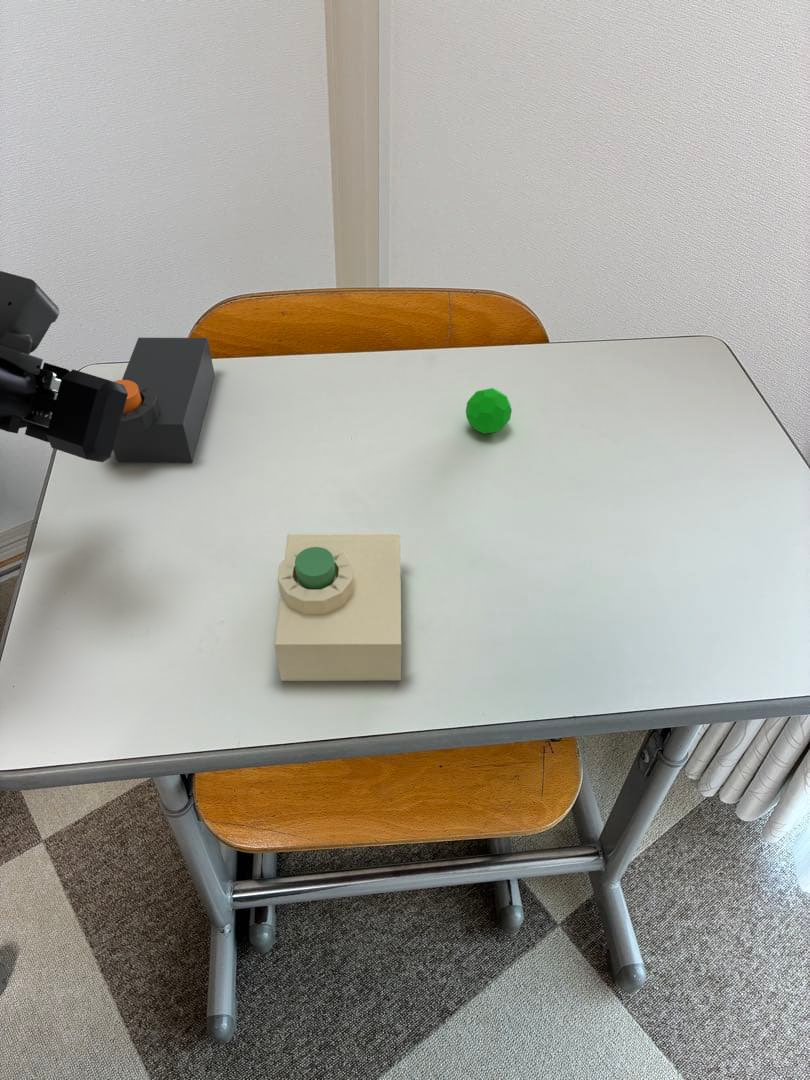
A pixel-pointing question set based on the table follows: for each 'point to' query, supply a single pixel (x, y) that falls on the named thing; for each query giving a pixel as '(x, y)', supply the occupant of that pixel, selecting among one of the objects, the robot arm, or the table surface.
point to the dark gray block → (166, 400)
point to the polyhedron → (488, 410)
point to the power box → (342, 612)
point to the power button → (315, 568)
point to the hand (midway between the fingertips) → (84, 410)
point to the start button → (131, 395)
